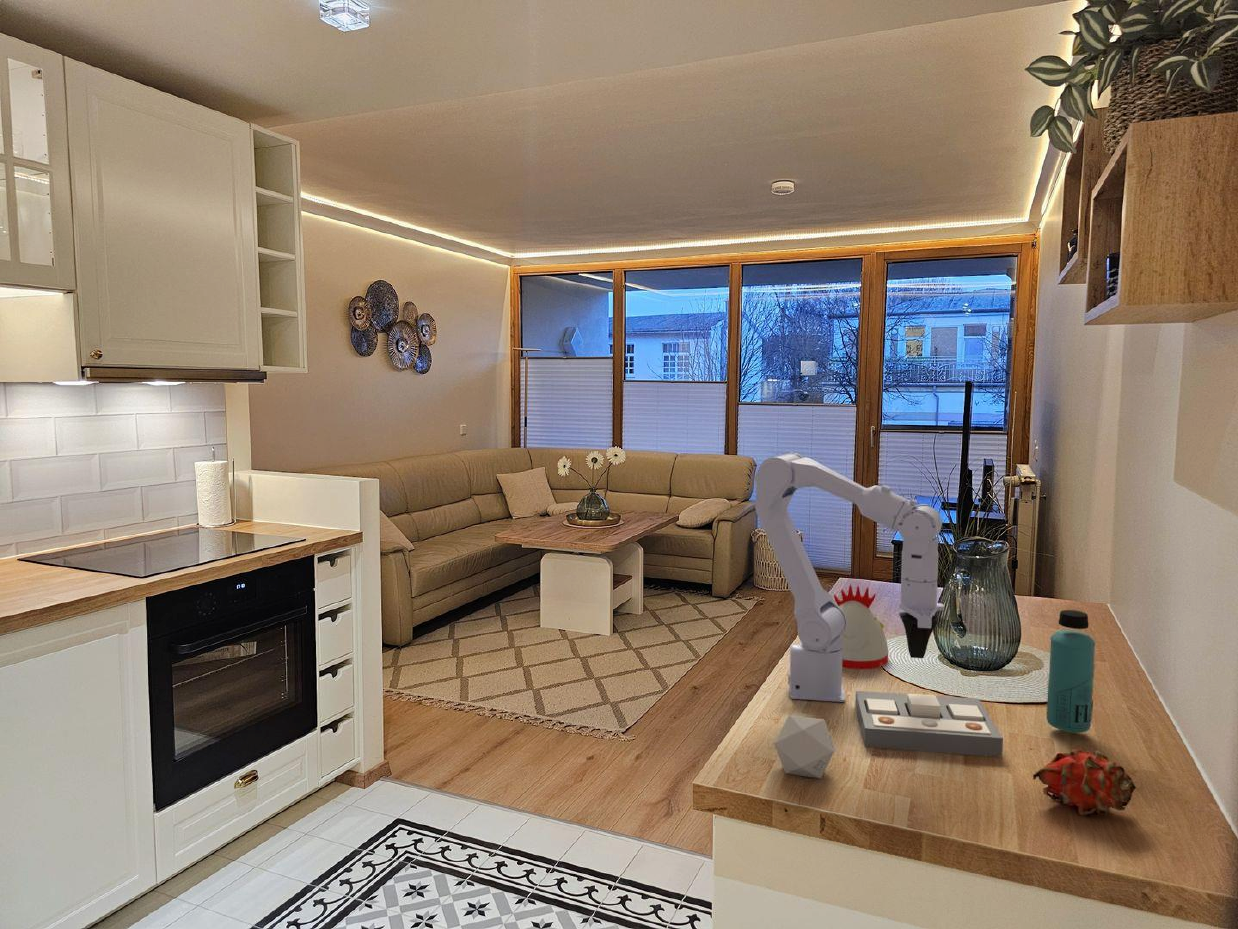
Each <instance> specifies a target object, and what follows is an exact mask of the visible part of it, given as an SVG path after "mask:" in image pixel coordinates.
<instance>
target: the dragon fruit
mask: <svg viewBox="0 0 1238 929" xmlns="http://www.w3.org/2000/svg"><path fill="white" fill-rule="evenodd" d="M1093 753H1094V754H1095V755H1094V754H1093ZM1093 753H1092V752H1090V751H1087V752H1085V751H1084V750H1082V749H1079V748H1078V749H1076V748H1075V749H1070V751H1069V753H1068V752H1058V753H1056V755H1055V756H1054V758H1053V759H1052V760H1051V761H1050V762H1048V763H1047V764H1046V765H1045V766H1043V768H1040V769H1039V770H1037V771H1036V772H1035V773H1034V774H1032V778H1033V781H1035V780H1037V778H1038V780H1039V781H1040V782H1041V784H1043V785H1046V786H1047V787H1046V786H1045V787H1044V788H1042V792H1043V794H1044V795H1045V796H1046V797H1049V798H1050V799H1051V800H1052V801H1055V802H1061V803H1062V804H1063V805H1066V806H1076V807H1078V813H1079V814H1080V815H1081V816H1085V815H1090V814H1094V812H1096V813H1097V814H1098V815H1106V813H1107V812H1108V811H1109V810H1110V808H1112V809H1115V810H1116V811H1117V810H1118V811H1125V809H1126V807H1127V805H1128V804H1129V803H1130V802H1131V800H1132V797H1133V793H1134V791H1136V789H1137V787H1136V785H1135V784H1134V779H1133V778H1132V777H1131V776H1130V775H1129V774H1128V773H1126V771H1125V768H1124V766H1122V765H1120V764H1117V763H1116V762H1115V761H1109V758H1108V757H1107V756H1106V755H1105V754H1103V753H1102V752H1100V751H1095V750H1094V751H1093Z"/></svg>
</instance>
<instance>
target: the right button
mask: <svg viewBox="0 0 1238 929" xmlns="http://www.w3.org/2000/svg"><path fill="white" fill-rule="evenodd" d="M948 712H949V714H950V716H951V718H952V719H963V720H977V721H983V715H982V714H981V712H980V710H979V709H978V707H977V706H974V705H958V704H948Z"/></svg>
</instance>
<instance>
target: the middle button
mask: <svg viewBox="0 0 1238 929" xmlns="http://www.w3.org/2000/svg"><path fill="white" fill-rule="evenodd" d="M906 694H907V707H908V709H909V712H910V714H911V716H919V717H934V718H940V707H941V706H940V704H939V702H938V700H937V698H936V696H937V695H936V694H935V695H934V694H923V693H921V694H920V693H919V694H918V693H906Z"/></svg>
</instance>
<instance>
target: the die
mask: <svg viewBox="0 0 1238 929" xmlns="http://www.w3.org/2000/svg"><path fill="white" fill-rule="evenodd" d="M773 744H774V748H775V750H776V753H777V755H778V758H779V760H780V763H781V765H782V768H783V770H784V772H785V774H789V775H795V776H802V777H805V778H806V777H808V778H809V777H810V778H814V779H820V780H821V779H822V778H823V775H824V773H825V772H826V769H827V767H828V765H829V764H830V761H831V759H832V757H833V755H834V752H835V750H836V749H835V745H834V743H833V740H832V737H831V734H830V732H829V729H828V726H827V724H826V721H825V719H823V718H815V717H806V716H802V715H801V716H800V715H793V714H789V715H788V716H787V718H786V720H785V722H784V723H783V726H782V727H781V729H780V732H779V733H778V735H777V737H776V739H775V741H774V743H773Z"/></svg>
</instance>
